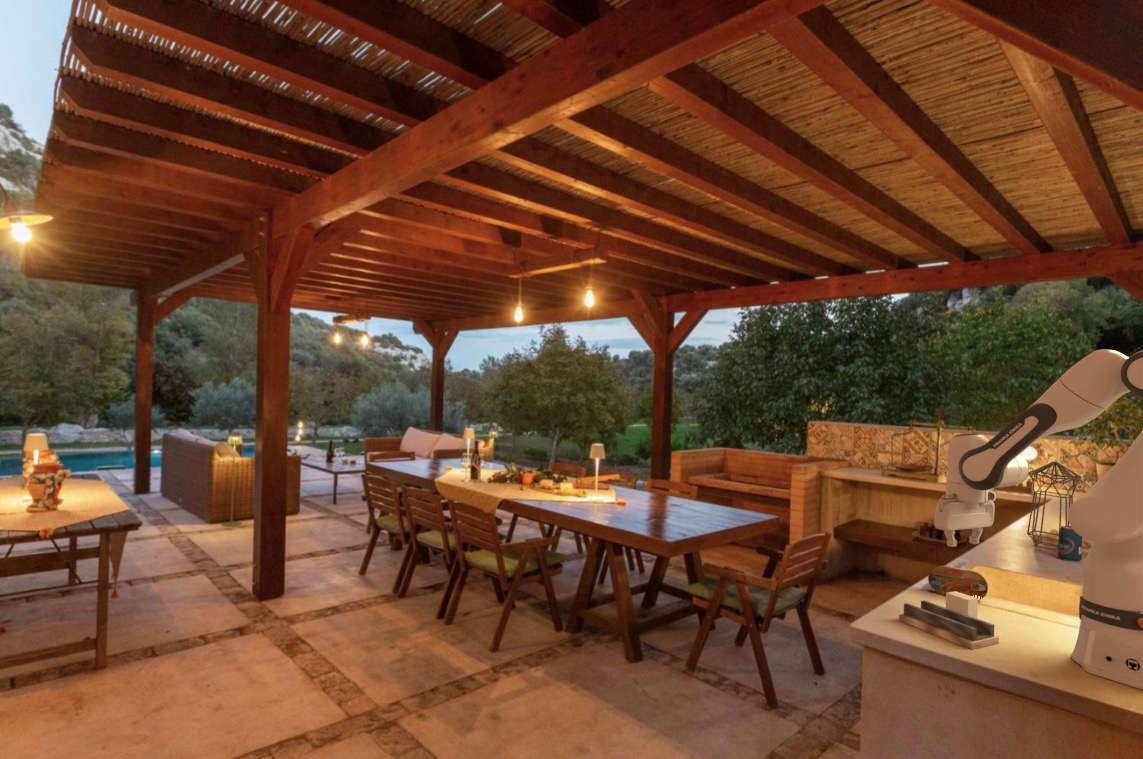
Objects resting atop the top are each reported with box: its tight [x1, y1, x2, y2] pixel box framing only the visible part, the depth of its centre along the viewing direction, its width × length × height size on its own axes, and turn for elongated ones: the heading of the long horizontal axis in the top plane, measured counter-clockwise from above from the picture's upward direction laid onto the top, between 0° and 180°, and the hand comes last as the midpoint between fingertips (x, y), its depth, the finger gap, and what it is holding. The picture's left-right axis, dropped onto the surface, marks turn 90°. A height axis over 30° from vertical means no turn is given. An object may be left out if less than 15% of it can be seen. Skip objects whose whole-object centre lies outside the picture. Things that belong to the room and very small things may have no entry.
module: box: [945, 591, 979, 619], centre depth 166 cm, size 6×4×6 cm, turn 25°
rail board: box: [898, 600, 1000, 650], centre depth 156 cm, size 19×10×4 cm, turn 25°
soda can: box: [1057, 525, 1083, 563], centre depth 232 cm, size 7×7×12 cm
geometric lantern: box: [1026, 461, 1083, 552], centre depth 251 cm, size 16×16×35 cm
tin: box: [927, 565, 989, 600], centre depth 184 cm, size 15×3×8 cm, turn 50°
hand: (963, 544), depth 166 cm, fingers open, 8 cm apart
